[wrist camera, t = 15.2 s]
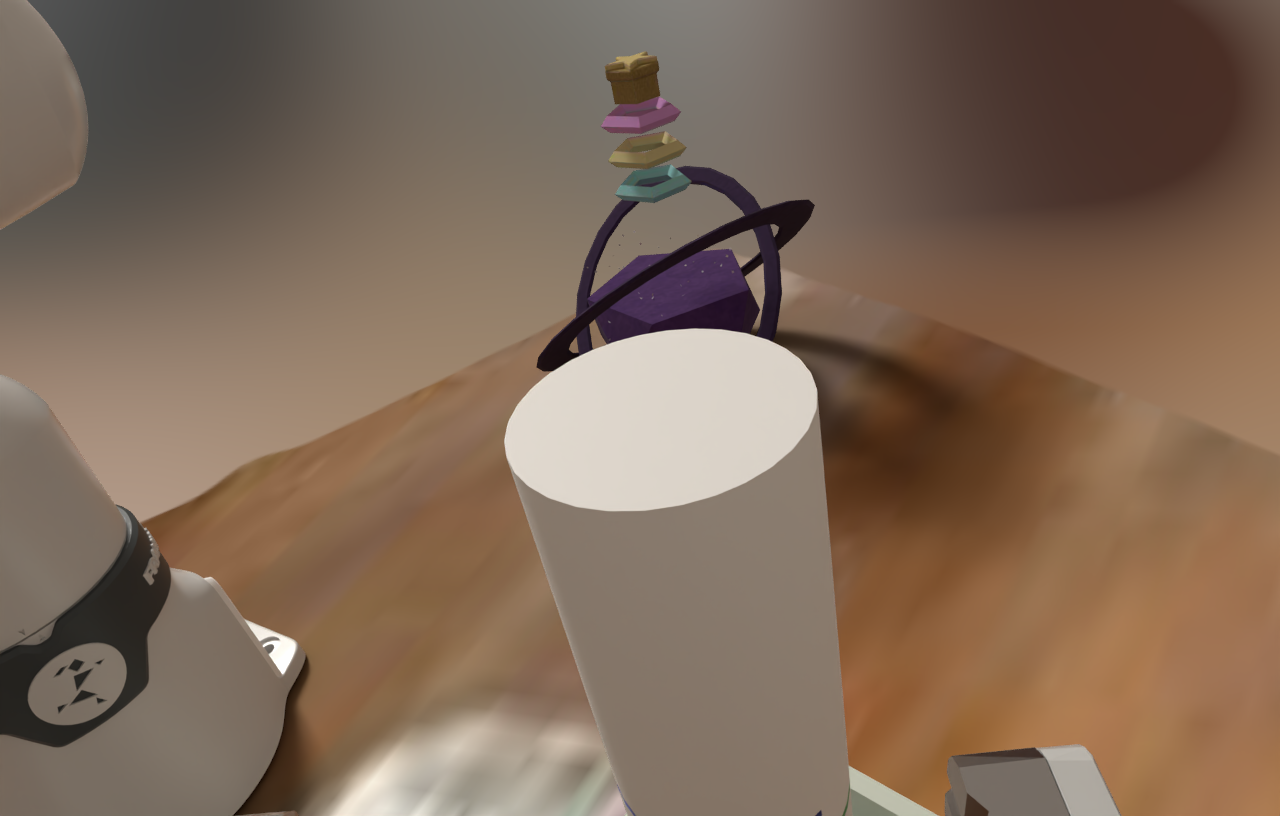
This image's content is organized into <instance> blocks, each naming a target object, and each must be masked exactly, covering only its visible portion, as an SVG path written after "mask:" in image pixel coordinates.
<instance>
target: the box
mask: <svg viewBox="0 0 1280 816" xmlns="http://www.w3.org/2000/svg"><path fill="white" fill-rule="evenodd" d="M849 778H850V790H851V801H852V813H853V816H938V815H936V814H934V813H933V812H931V811H929V810H927V809H925V808H924V807H922V806H920V805H918V804H916V803H915V802H913V801H911V800H909V799H907V798H906V797H904V796H902V795H900V794H898V793H897V792H895V791H893V790H891V789H889V788H888V787H886V786H884V785H882V784H881V783H879V782H877V781H875V780H873V779H872V778H870V777H868V776H866V775H864V774H863V773H861V772H859V771H857V770H855V769H854V768H852V767H850V766H849ZM624 816H627V813H626V814H625V815H624Z"/></svg>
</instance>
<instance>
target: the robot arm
mask: <svg viewBox="0 0 1280 816" xmlns="http://www.w3.org/2000/svg"><path fill="white" fill-rule="evenodd" d="M87 140H88V116H87V109H86V103H85V98H84V93H83V90H82V87H81V84H80V81H79V78H78V75H77V72H76V70H75V68H74V66H73V63H72V61H71V59H70V57H69V55H68V53H67V52H66V50H65V48H64V46H63V45H62V43H61V42H60V40H59V39H58V37H57V36H56V34H55V33H54V32H53V30H52V29H51V28H50V26H49V25H48V24H47V22H46V21H45V20H44V18H43V17H42V16H41V15H40V14H39V13H38V12H37V11H36V10H35V9H34V8H33V7H32V5H31V4H30V3H29V2H28V1H27V0H0V229H2V228H4V227H6V226H7V225H9V224H11V223H13V222H14V221H16V220H18V219H20V218H21V217H23V216H25V215H27V214H28V213H30V212H31V211H33V210H35V209H36V208H38V207H39V206H41V205H42V204H44V203H46V202H47V201H49V200H51V199H52V198H54V197H55V196H57V195H59V194H60V193H62V192H63V191H65V190H67V189H68V188H70V187H71V186H73V185H74V184H75V183H76V182H77V180H78V177H79V175H80V172H81V170H82V167H83V163H84V158H85V155H86V150H87ZM158 549H159V547H158V545H157V543H156V541H155V540H154V538H153V537H152V535H151V534H150V533H149V531H148V530H147V529H146V528H145V529H144V527H143V526H142V525H141V524H140V523H139V522H138V521H137V519H136V518H135V516H134V515H133V514H132V513H131V512H130V511H129V510H127V509H125V508H124V507H122V506H119V505H115V504H114V502H113V501H112V499H111V498H110V496H109V495H108V494H107V492H106V490H105V489H104V487H103V486H102V484H101V483H100V482H99V480H98V479H97V477H96V476H95V474H94V473H93V471H92V470H91V468H90V467H89V465H88V464H87V462H86V461H85V459H84V458H83V456H82V455H81V453H80V452H79V450H78V449H77V447H76V446H75V444H74V443H73V441H72V440H71V438H70V437H69V436H68V434H67V432H66V431H65V429H64V428H63V426H62V425H61V423H60V422H59V420H58V419H57V418H56V416H55V415H54V413H53V412H52V410H51V409H50V407H49V406H48V404H47V403H46V402H45V401H44V400H43V399H42V398H41V397H39V396H38V395H37V394H36V393H35V392H33V391H32V390H31V389H29V388H28V387H26V386H25V385H23V384H21V383H19V382H17V381H15V380H13V379H11V378H9V377H6V376H4V375H1V374H0V816H233V815H234V814H235V813H236V811H237V810H238V809H239V808H240V807H241V806H242V804H243V803H244V802H245V801H246V799H247V798H248V797H249V796H250V794H251V793H252V792H253V790H254V789H255V787H256V786H257V784H258V783H259V781H260V780H261V778H262V777H263V775H264V773H265V772H266V770H267V768H268V766H269V764H270V762H271V760H272V758H273V756H274V754H275V751H276V749H277V746H278V743H279V740H280V737H281V733H282V729H283V723H284V714H285V704H286V699H287V696H288V692H289V691H290V689H291V687H292V685H293V684H294V682H295V680H296V678H297V677H298V675H299V673H300V671H301V669H302V667H303V664H304V661H305V652H304V650H303V649H302V648H301V647H300V645H299V644H298V643H297V642H296V641H295V640H293V639H291V638H289V637H286V636H284V635H282V634H279V633H277V632H274V631H272V630H269V629H267V628H265V627H262V626H260V625H257V624H255V623H252V622H250V621H248V620H245V619H244V618H243V617H242V616H241V614H240V613H239V611H238V610H237V608H236V607H235V606H234V604H233V603H232V601H231V600H230V599H229V597H228V596H227V594H226V593H225V592H224V590H223V589H222V587H221V586H220V585H219V584H218V583H217V581H215V580H214V579H213V578H211V577H208V578H202V577H201V576H199V575H197V574H195V573H192V572H189V571H184V570H179V569H174V568H169V565H168V563H167V562H166V560H165V559H164V557H163V556H162V554H161V553H160V551H159V550H158ZM947 774H948V777H949V781H950V784H951V787H952V788H951V789H950V790H949V791H948V792H947V793H946V794H945V816H1121V814H1120V812H1119V810H1118V808H1117V806H1116V803H1115V801H1114V799H1113V797H1112V795H1111V793H1110V791H1109V789H1108V787H1107V785H1106V783H1105V781H1104V778H1103V776H1102V774H1101V772H1100V770H1099V768H1098V766H1097V764H1096V762H1095V760H1094V758H1093V756H1092V754H1091V753H1090V752H1089V751H1088V750H1087V749H1086V748H1085V747H1084V746H1081V745H1079V744H1076V745H1065V746H1054V747H1042V748H1035V747H1034V748H1025V749H1015V750H1005V751H996V752H986V753H976V754H966V755H957V756H951V757H950V758H949V760H948V768H947ZM238 816H299V815H298V814H297V813H296V811H286V812H274V813H262V814H250V815H238Z"/></svg>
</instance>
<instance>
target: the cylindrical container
mask: <svg viewBox="0 0 1280 816" xmlns="http://www.w3.org/2000/svg"><path fill="white" fill-rule="evenodd" d="M504 442H505V449H506V457H507V460H508V463H509V466H510V469H511V472H512V475H513V478H514V481H515V484H516V487H517V490H518V493H519V496H520V499H521V502H522V504H523V507H524V510H525V513H526V516H527V519H528V522H529V525H530V528H531V531H532V534H533V537H534V540H535V543H536V546H537V549H538V552H539V555H540V558H541V561H542V564H543V567H544V570H545V573H546V576H547V578H548V581H549V584H550V587H551V590H552V593H553V596H554V599H555V602H556V605H557V608H558V611H559V614H560V617H561V620H562V623H563V626H564V629H565V632H566V635H567V638H568V641H569V644H570V647H571V650H572V652H573V655H574V658H575V661H576V664H577V667H578V670H579V673H580V676H581V679H582V682H583V685H584V688H585V691H586V694H587V697H588V700H589V703H590V706H591V709H592V712H593V715H594V718H595V721H596V724H597V727H598V730H599V733H600V736H601V739H602V742H603V745H604V748H605V750H606V753H607V756H608V759H609V762H610V765H611V768H612V771H613V774H614V777H615V780H616V783H617V786H618V789H619V792H620V795H621V798H622V801H623V804H624V807H625V810H626V813H627V816H853V813H852V801H851V790H850V778H849V766H848V753H847V741H846V728H845V716H844V704H843V693H842V681H841V669H840V657H839V645H838V633H837V621H836V609H835V597H834V585H833V573H832V561H831V549H830V537H829V525H828V513H827V501H826V489H825V478H824V466H823V454H822V442H821V430H820V418H819V406H818V394H817V388H816V385H815V383H814V380H813V377H812V374H811V372H810V371H809V370H808V369H807V367H806V366H805V365H804V364H803V362H802V361H801V360H800V359H799V358H798V357H796V356H795V355H794V354H792V353H791V352H790V351H788V350H787V349H786V348H784V347H782V346H780V345H778V344H775V343H773V342H771V341H769V340H767V339H763V338H760V337H757V336H753V335H750V334H747V333H741V332H734V331H728V330H721V329H681V330H667V331H661V332H655V333H649V334H643V335H638V336H635V337H631V338H627V339H623V340H620V341H616V342H613V343H610V344H607V345H605V346H602V347H599V348H597V349H594V350H591V351H589V352H587V353H585V354H583V355H581V356H579V357H577V358H575V359H573V360H571V361H569V362H567V363H566V364H564V365H562V366H561V367H559V368H558V369H556V370H554V371H553V372H551V373H550V374H548V375H547V376H546V377H545V378H544V379H542V380H541V381H540V382H539V383H538V384H536V385H535V386H534V387H533V388H532V389H531V390H530V391H529V392H528V393H527V394H526V396H525V397H524V398H523V399H522V400H521V401H520V403H519V404H518V405H517V407H516V409H515V410H514V412H513V414H512V416H511V418H510V420H509V422H508V425H507V430H506V435H505V440H504Z"/></svg>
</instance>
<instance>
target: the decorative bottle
mask: <svg viewBox="0 0 1280 816" xmlns="http://www.w3.org/2000/svg"><path fill="white" fill-rule="evenodd" d="M605 69H606V78H607V80H608V81H610V82H611V86H612V90H613V96H614V101H615V104H620V105H619V106H618V107H617V108H616V109H614V110H613V111H612V112H611V113H610V114H609V115H608V116H607V117H606V119H605V120H604V122H603V124H602V126H601V127H602V128H604V129H605V130H607V131H608V132H610V133H635V134H642V133H645V132H647V131H650V130H653V129H655V128H658V127H660V126H663V125H665V124H668V123H671V122H673V121H675V119H676V118H677V117H678V115H679V114H680V113H681V111H679V110H678V109H677V108H676V107H674V106H673V105H672V104H671V103H669V102H667V101H665V100H664V99H662V98H660V97H658V96H660V92H659V86H658V79H657V72H658V71H659V66H658V61H657V57H656V56H648V54H647V52H642V53H639V54H637V55H633V56H628V57H617V58H616V62H613V63H610V64H607V65H606V66H605ZM685 149H686V147H685V146H684V145H683V144H682V143H680V142H679V141H678V140H677V139H675V138H674V137H673V136H671V135H670V134H668V133H667V132H665V131H664V132H659V133H653V134H649V135H642V136H637V137H631V138H627V139H626V140H625V141H624V142H623V143H622V144H621V145H620V146H619V147H618V148H617V149H616V150H615V151H614V152H613V154H612V156H611V157H610V159H609V162H610V163H611V164H613V165H614V166H616V167H622V168H640V169H643V170H636V171H633V172H632V173H631V175H629V176H628V178H627V179H626V180H625V181H624V182H623V183H622V184H621V186H620V187H619V189H618V191H617V192H616V194H615V195H616V196H618V197H620V198H621V199H622V200H621V201H620V202H619V203H618V204H617V205H616V206H615V208H614V209H613V211H612V212H611V214H610V215H609V217H608V218H607V219H606V221H605V222H604V224H603V225H602V227H601V228H600V230H599V231H598V233H597V236H596V238H595V240H594V242H593V245H592V247H591V249H590V251H589V254H588V256H587V258H586V261H585V264H584V268H583V272H582V277H581V281H580V285H579V289H578V293H577V310H576V318H574V319H573V320H572V321H571V322H570V323H569V324H568V325H567V326H566V327H565V328H564V329H562V330H561V331H560V332H559V333H558V334H557V335H556V336H555V337H554V338H553V339H552V340H551V341H550V343H549V344H548V345H547V346H546V348H545V349H544V350H543V352H542V353H541V354H540V356H539V357H538V362H537V368H539V369H540V370H542V371H554V370H556V369H558V368H559V367H561V366H562V365H564V364H566V363H567V362H569V361H571V360H573V359H575V358H577V357H579V356H581V355H583V354H585V353H587V352H589V351H591V350H594V349H593V348H592V341H591V334H590V327H589V324H590V323H591V322H592V321H593V320H594V319H595V321H596V323H597V326H598V328H599V331H600V333H601V335H602V337H603V339H604V340H605V342H606V343H607V344H610V343H613V342H616V341H620V340H623V339H627V338H631V337H635V336H638V335H643V334H649V333H655V332H661V331H667V330H681V329H721V330H728V331H734V332H741V333H747V334H750V332H751V330H752V327H753V325H754V323H755V321H756V318H757V316H758V314H759V311H760V309H759V307H758V305H757V303H756V300H755V298H754V296H753V294H752V292H751V290H750V288H749V286H748V284H747V281H746V279H745V277H744V276H746V275H747V274H749V273H750V272H752V271H753V270H754V269H756V268H757V267H758V266H759V265H761V264H762V263H764V282H765V297H764V304H763V310H762V317H761V323H760V327H759V330H758V333H757V335H756V336H757V337H760V338H763V339H767V340H769V341H771V342H773V339H774V337H775V334H776V330H777V323H778V316H779V309H780V303H781V296H782V287H781V272H780V256H779V253H778V250H780V249H781V248H782V247H783V246H784V245H785V244H786V243H787V242H789V241H790V240H791V239H792V238H793V237H794V236H795V235H796V234H797V233H798V231H800V229H801V228H802V227H803V226H804V225H805V223H806V222H807V221H808V220H809V218H810V217H811V214H812V211H813V209H814V206H815V205H814V204H813V203H812V202H811V201H809V200H795V201H786V202H783V203H779V204H776V205H773V206H770V207H767V208H763V209H761V208H760V206H759V205H758V203H757V201H756V200H755V198H754V197H753V196H752V195H751V194H750V193H749V192H748V191H747V190H746V189H745V188H744V187H743V186H741V185H740V184H739V183H738V182H737V181H736V180H735V179H734V178H732V177H730V176H727V175H725V174H723V173H720V172H718V171H716V170H714V169H711V168H704V167H690V166H684V167H679V168H674V167H673V166H672V165H671V164H670V165H665V166H659V167H655V166H657V165H659V164H662V163H664V162H667V161H669V160H672V159H674V158H676V157H679V156H680V155H681V154H682V153H683V151H684V150H685ZM648 150H651V151H649V152H646V153H640V152H642V151H648ZM652 167H653V168H652ZM689 184H698V185H705V186H708V187H710V188H712V189H714V190H717V191H718V192H721V193H723V194H725V195H726V196H727V197H728V198H729V199H730V200H731V201H733V202H734V204H736V205H737V206H738V207H739V208H740V209H741V210H742V211H743V213H744V215H745V216H743V217H741V218H739V219H736V220H734V221H732V222H729V223H727V224H725V225H723V226H721V227H719V228H717V229H715V230H713V231H711V232H709V233H707V234H705V235H703V236H701V237H699V238H697V239H696V240H694V241H692V242H690V243H688V244H686V245H684V246H682V247H680V248H679V249H677V250H675V251H674V252H672V253H670V254H656V255H643V256H638V257H637V258H636V259H635V260H633V261H632V262H631V263H630V264H628V265H627V266H626V267H624V266H623V268H624V269H622V270H621V271H620V272H619V273H618V274H616V275H615V276H614V277H613V278H612V279H610V280H609V281H608V282H607V283H606V284H604V285H603V286H602V287H601V288H600V289H598V290H597V291H596V292H595V293H594V294H593V295H591V296H590V292H591V288H592V284H593V280H594V275H595V273H596V272H597V271H596V267H597V264H598V262H599V259H600V257H601V255H602V252H603V250H604V248H605V246H606V243H607V241H608V239H609V238H610V236H611V235H612V233H613V232H614V230H615V229H616V227H617V226H618V224H619V223H620V221H621V220H622V218H623V217H624V216H625V215H626V214H627V213H628V212H630V211H631V210H632V209H633V208H634V207H635V206H636V205H637V204H638V203H639V202H650V203H655V202H658V201H660V200H662V199H665V198H667V197H669V196H671V195H674V194H676V193H679V192H681V191H683V190H685V189H686V188H687V186H689ZM770 224H775V225H777V226H778V227H779V230H778V233H777V234H776V236H775V237H774V236H773V232H772V229H771V226H770ZM750 229H753V230H754V232H755V234H756V237H757V241H758V244H759V248H760V251H761V252H760V253H759V254H758V255H756V256H755V257H754V258H753V259H752V260H750V261H749V262H748V263H746V264H745V265H744V266H743V267H741V268H740V267H739V265H738V262H737V260H736V258H735V256H734V254H733V252H732V250H731V248H730V249H723V250H710V251H702V250H704V249H706V248H708V247H710V246H712V245H714V244H716V243H718V242H721V241H723V240H725V239H727V238H730V237H732V236H734V235H737V234H739V233H741V232H744V231H747V230H750ZM622 236H624V235H622ZM697 236H698V235H697ZM640 245H641V243H640ZM619 246H620V245H619ZM619 269H620V268H619ZM576 337H577V343H578V350H579V353H572V352H571V351H570V350H569V347H570V344H571V343H572V341H573V340H574V339H575V338H576ZM604 346H605V345H604ZM596 349H597V348H596Z"/></svg>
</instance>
